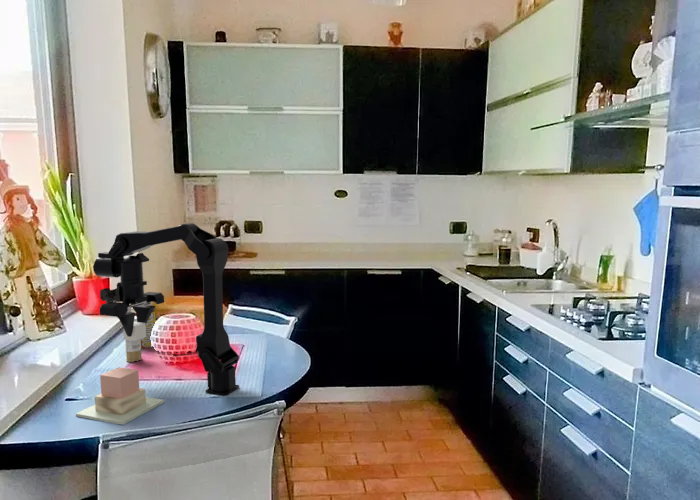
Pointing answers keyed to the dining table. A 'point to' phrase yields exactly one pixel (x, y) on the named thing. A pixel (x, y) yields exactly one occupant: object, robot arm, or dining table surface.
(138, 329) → the cap block
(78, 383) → the dining table surface
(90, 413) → the baseplate
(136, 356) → the sprinkles bottle
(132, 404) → the block
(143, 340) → the yellow food can
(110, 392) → the coral block
